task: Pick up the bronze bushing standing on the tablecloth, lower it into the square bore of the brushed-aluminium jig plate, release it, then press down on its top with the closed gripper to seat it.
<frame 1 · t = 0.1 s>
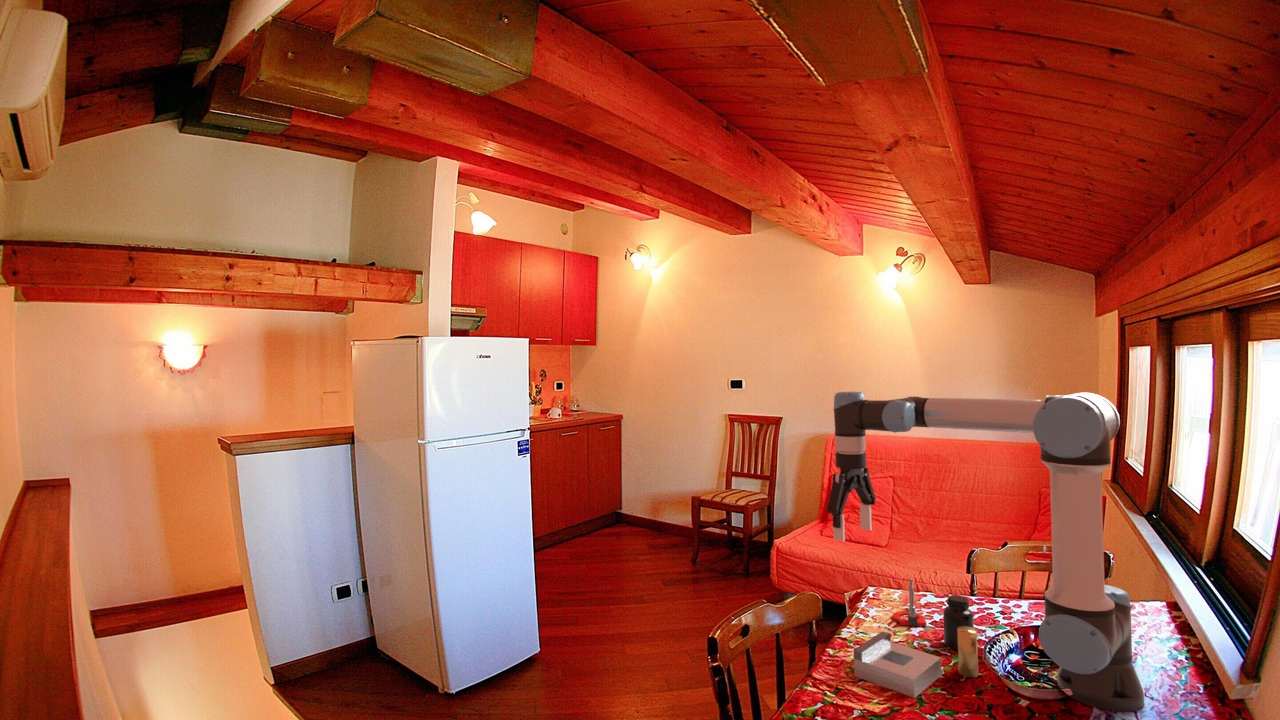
hand: (853, 534, 165), 28 cm above the table, tool pointing down, fingers open, 13 cm apart
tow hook: (909, 621, 178), on the table
supplement bottle: (959, 646, 162), on the table
jig: (897, 675, 148), on the table
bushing: (968, 673, 148), on the table
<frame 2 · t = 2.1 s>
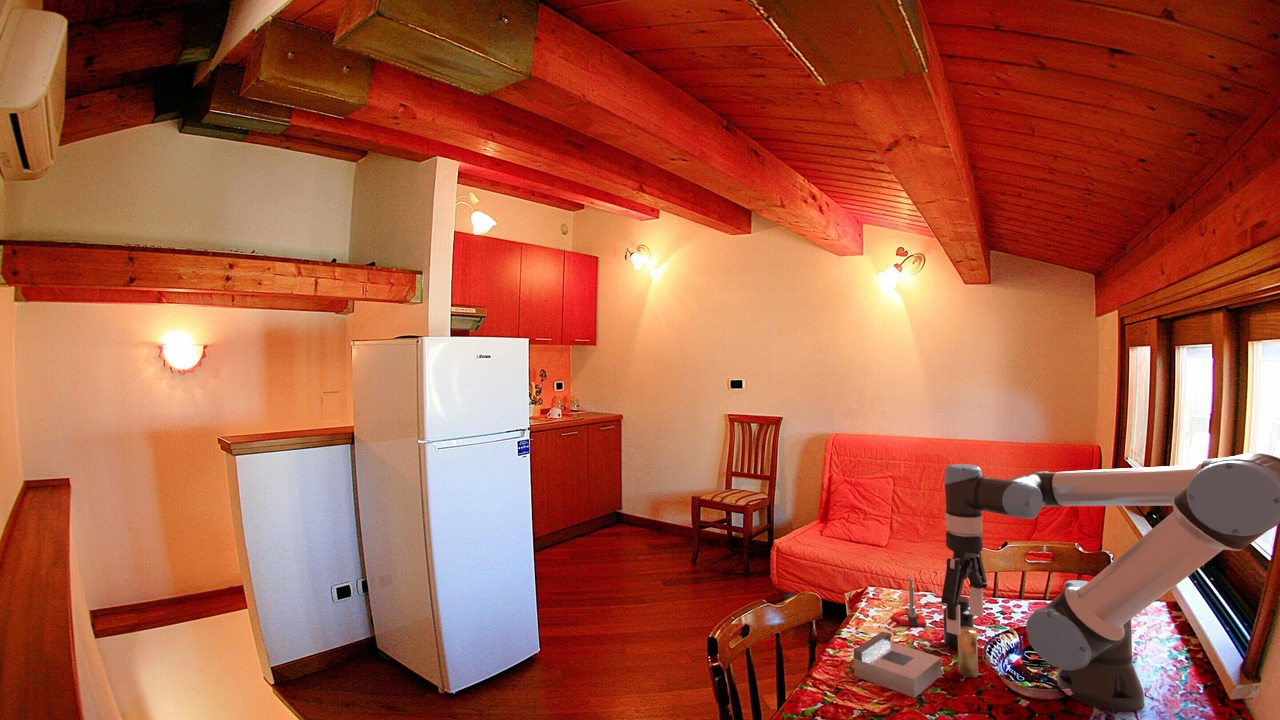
hand: (965, 624, 148), 11 cm above the table, tool pointing down, fingers open, 13 cm apart
nothing on the table moved.
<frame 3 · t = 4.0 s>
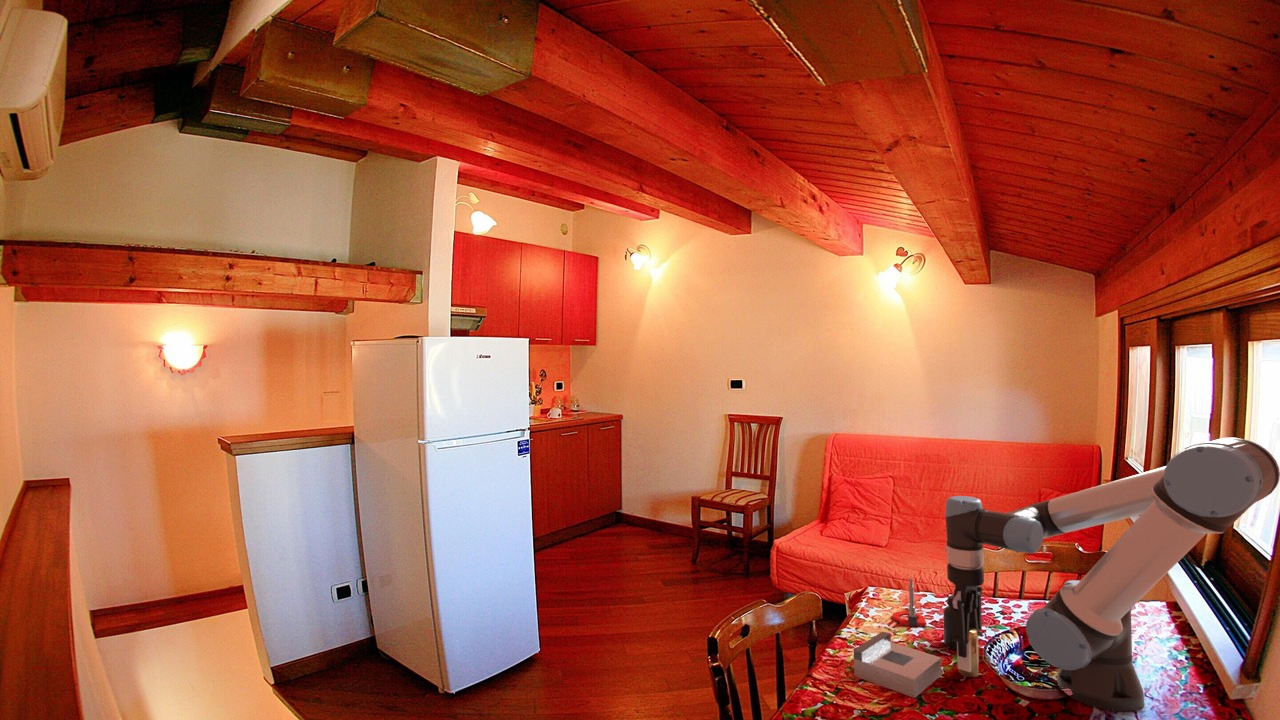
hand: (968, 666, 148), 2 cm above the table, tool pointing down, fingers closed on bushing, 4 cm apart
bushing: (968, 673, 148), on the table, touching gripper
everything else where it was.
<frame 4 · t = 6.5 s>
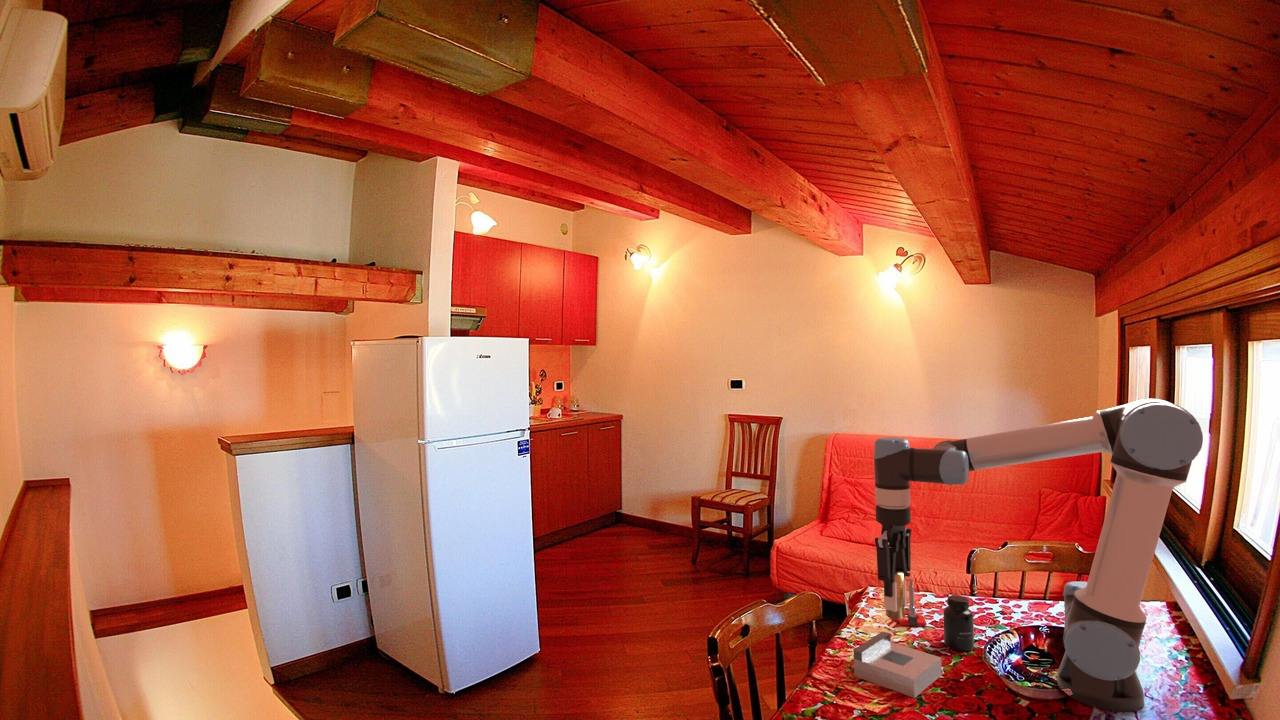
hand: (895, 606, 148), 16 cm above the table, tool pointing down, fingers closed on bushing, 4 cm apart
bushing: (895, 615, 148), point 14 cm above the table, touching gripper
everything else where it was.
when the fingers open (4 cm above the table, at t = 9.0 s): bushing drops 2 cm, resting in jig.
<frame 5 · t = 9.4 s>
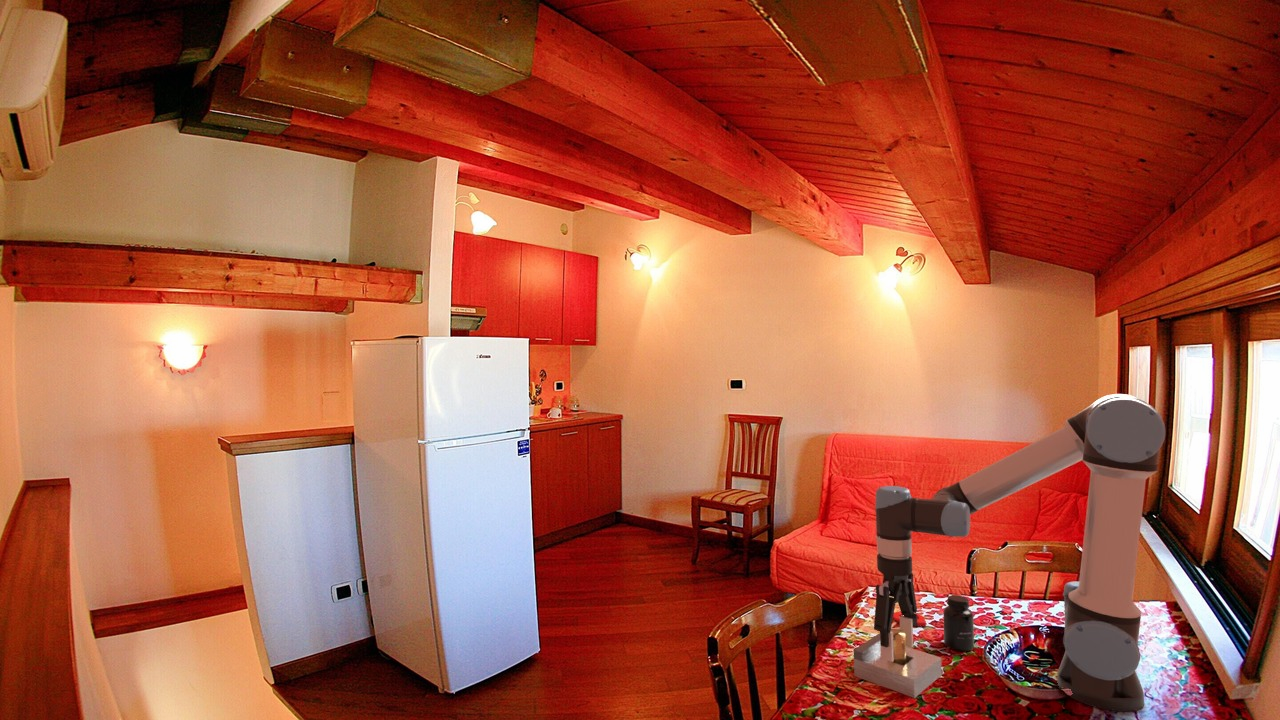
hand: (897, 652, 148), 5 cm above the table, tool pointing down, fingers open, 9 cm apart
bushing: (897, 675, 148), resting in jig
everything else where it was.
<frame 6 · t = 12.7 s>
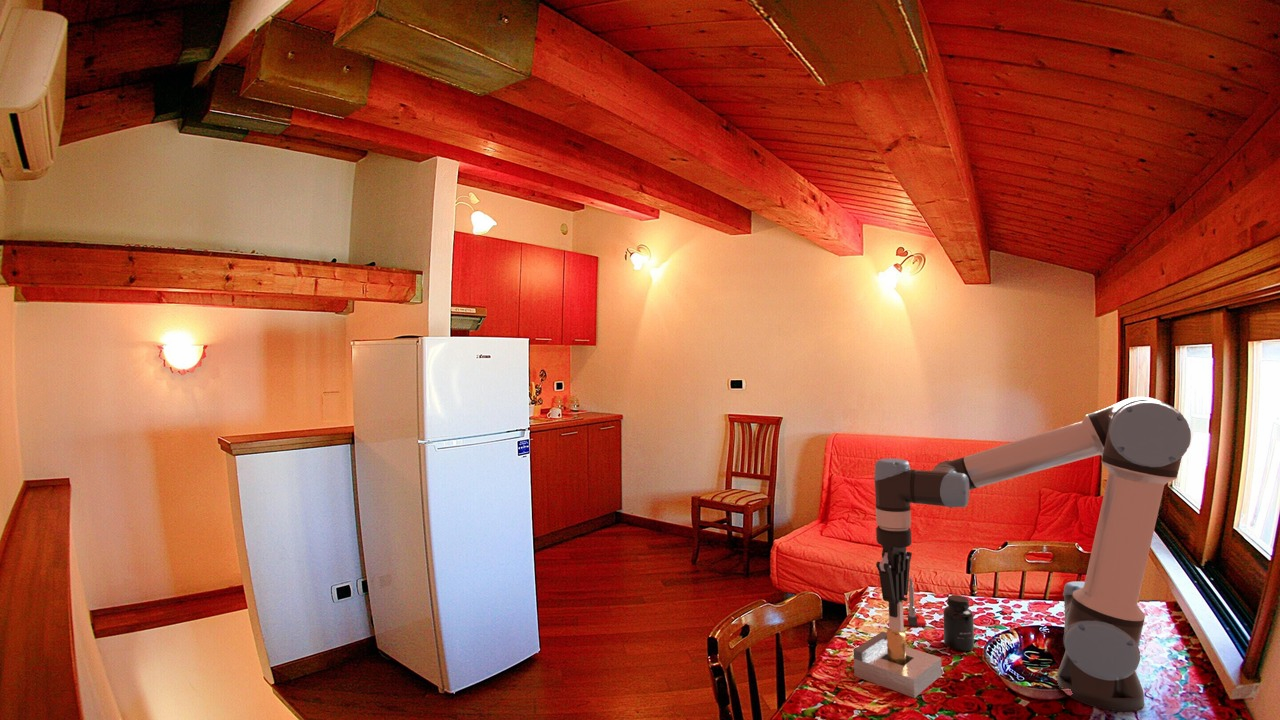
hand: (896, 629, 148), 11 cm above the table, tool pointing down, fingers closed
nothing on the table moved.
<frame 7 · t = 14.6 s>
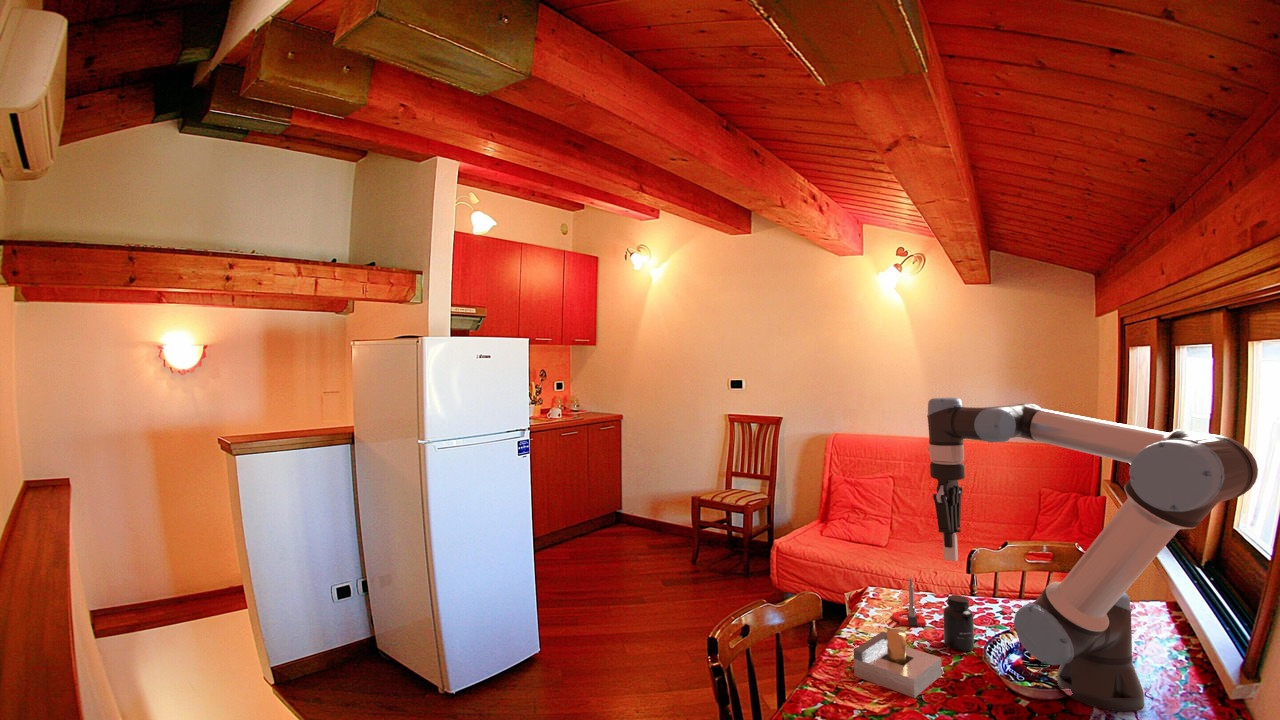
hand: (950, 559, 155), 24 cm above the table, tool pointing down, fingers closed
nothing on the table moved.
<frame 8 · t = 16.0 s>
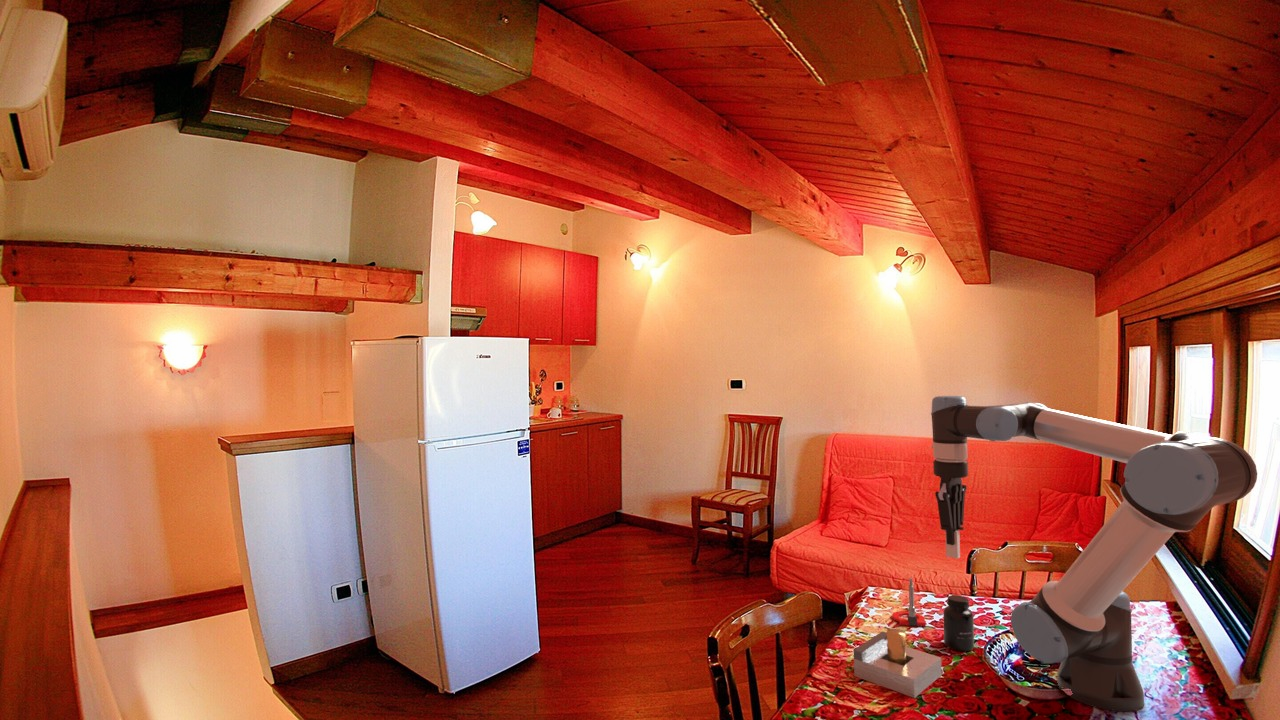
hand: (953, 556, 156), 24 cm above the table, tool pointing down, fingers closed
nothing on the table moved.
at the end: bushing 0.1 cm off-centre on the jig, point 0.0 cm above the jig's base; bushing tilted 0°; the gripper is holding nothing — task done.
